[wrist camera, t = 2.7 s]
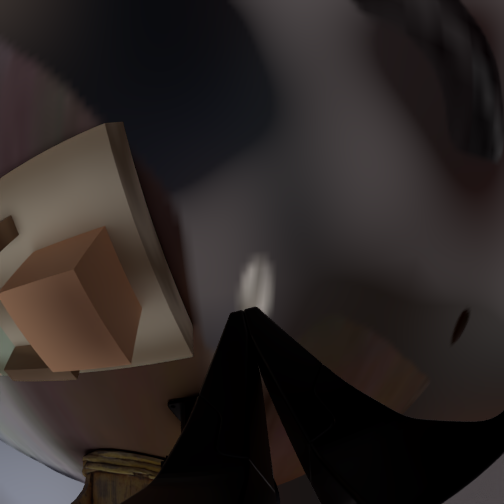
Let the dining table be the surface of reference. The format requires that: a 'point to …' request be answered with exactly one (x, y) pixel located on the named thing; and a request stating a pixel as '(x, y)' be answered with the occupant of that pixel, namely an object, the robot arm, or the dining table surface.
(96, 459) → the tankard
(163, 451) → the dining table surface
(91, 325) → the block
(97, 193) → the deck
